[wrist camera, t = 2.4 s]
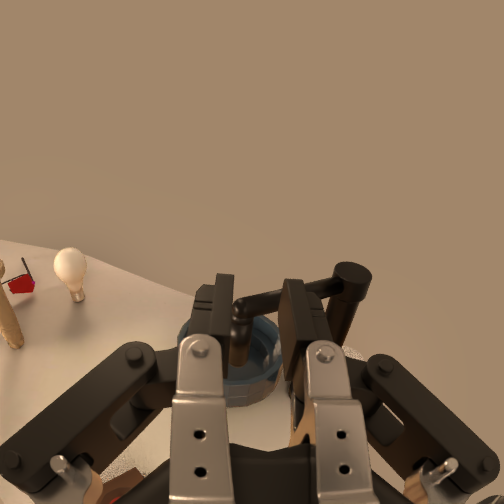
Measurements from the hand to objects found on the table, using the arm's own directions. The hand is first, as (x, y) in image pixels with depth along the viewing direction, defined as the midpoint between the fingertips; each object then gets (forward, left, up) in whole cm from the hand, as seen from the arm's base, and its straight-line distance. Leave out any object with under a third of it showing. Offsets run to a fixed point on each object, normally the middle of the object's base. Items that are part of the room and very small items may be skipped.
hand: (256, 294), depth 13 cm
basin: (+13, -13, -28) cm, 33 cm away
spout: (+4, -13, -16) cm, 20 cm away
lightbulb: (+42, 0, -28) cm, 51 cm away
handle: (+37, +15, -28) cm, 49 cm away
